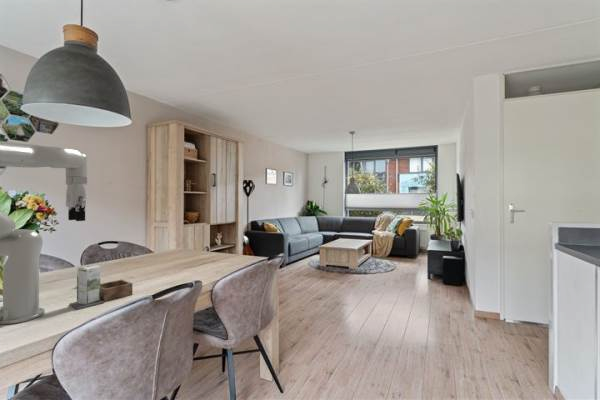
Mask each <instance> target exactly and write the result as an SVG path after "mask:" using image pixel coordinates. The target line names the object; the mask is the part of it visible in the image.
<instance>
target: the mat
mask: <svg viewBox="0 0 600 400" xmlns="http://www.w3.org/2000/svg"><path fill="white" fill-rule="evenodd" d="M104 303H105V302H104V301H102V300H99V301H96V302H93V303H90V304H87V305H86V304H79V303H77V301H75V302H70V303H69V306H70V307H72V308H73V309H75V310H77V311H78V310H82V309H86V308H90V307H94V306H98V305H103V304H104Z"/></svg>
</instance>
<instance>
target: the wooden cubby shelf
mask: <svg viewBox="0 0 600 400" xmlns="http://www.w3.org/2000/svg"><path fill="white" fill-rule="evenodd" d="M129 296H133V283H132V282H129V281H127V280H123V279H118V280H112V281H107V282H103V283H100V300H101V301H103V302H104V303H105V302H109V301H112V300H116V299H122V298H126V297H129Z"/></svg>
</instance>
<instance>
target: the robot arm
mask: <svg viewBox="0 0 600 400" xmlns="http://www.w3.org/2000/svg"><path fill="white" fill-rule="evenodd" d="M0 167H8V168H9V167H10V168H11V167H12V168H13V167H14V168H34V169H35V168H52V169H65V185H67V186H66V193H65V194H66V195H65V206H66V207H67V208H68V209H67V210H68V214H67V215H68V216H67V217H68V221H76V222H85V221H86V205H87V192H86V186H88V156H87V154H84V153H82V152H80V151H79V150H77V149H73V148H66V147H57V146H47V145H39V144H27V143H18V142H11V141H6V140H5V141H3V140H0ZM43 243H44V242H43V237H42V236H41V234H40V233H38V232H37V231H35V230H33V229H25V228H24V229H23V228H19V229H18V228H17V229H16V222H15V221H14V219H13V218H12V217H11V216H10V215H9V214H7V213H6V212H4V211H3V210H1V209H0V257H7V258H6V260H5V262H4V265H3V268H2V306H0V325H9V324H11V325H12V324H17V323H18V324H19V323H22V322H29V321H31V320H34V319H36V318H39V317H41V316H43V315H44V314H45V309H44V308H43V307H40V257H41V251H42V248H43Z"/></svg>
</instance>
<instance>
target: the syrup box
mask: <svg viewBox="0 0 600 400" xmlns="http://www.w3.org/2000/svg"><path fill="white" fill-rule="evenodd" d="M100 284H101V266H100V265H96V264H89V265H85V266H80V267H76V302H77V303H79V304H86V305H87V304H90V303H93V302H96V301H99V300H100Z"/></svg>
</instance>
